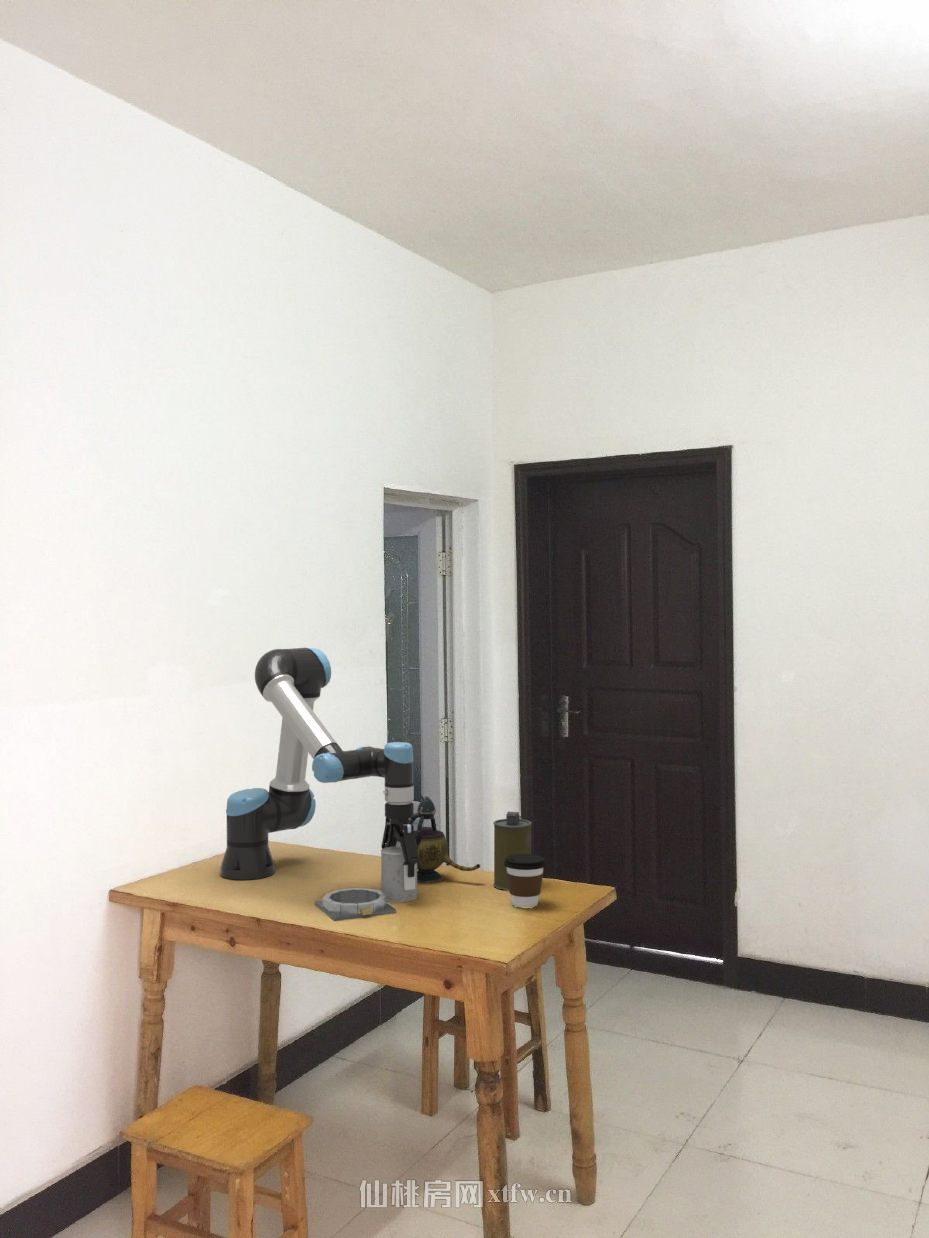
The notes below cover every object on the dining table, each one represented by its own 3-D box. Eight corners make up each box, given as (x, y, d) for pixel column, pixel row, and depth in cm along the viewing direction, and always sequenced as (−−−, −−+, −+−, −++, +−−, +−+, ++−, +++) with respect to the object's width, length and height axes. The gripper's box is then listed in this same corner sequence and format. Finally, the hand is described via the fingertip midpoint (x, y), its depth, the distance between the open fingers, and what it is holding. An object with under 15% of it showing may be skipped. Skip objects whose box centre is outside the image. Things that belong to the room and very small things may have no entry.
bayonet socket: (313, 902, 270) (313, 891, 270) (372, 895, 276) (372, 884, 276) (335, 921, 253) (335, 909, 253) (397, 913, 260) (397, 901, 260)
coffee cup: (517, 913, 260) (517, 865, 260) (495, 902, 270) (495, 856, 270) (554, 907, 265) (554, 860, 265) (532, 897, 275) (532, 851, 275)
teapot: (407, 870, 303) (407, 790, 302) (487, 879, 293) (487, 796, 292) (388, 880, 292) (387, 797, 291) (470, 890, 282) (470, 803, 281)
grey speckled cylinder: (422, 893, 278) (422, 847, 278) (409, 903, 269) (409, 855, 269) (389, 890, 281) (389, 844, 281) (375, 900, 272) (375, 852, 272)
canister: (528, 892, 280) (528, 817, 280) (490, 889, 282) (490, 815, 282) (534, 881, 291) (534, 809, 290) (497, 879, 293) (497, 807, 292)
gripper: (369, 796, 285) (369, 874, 285) (403, 811, 262) (404, 896, 262) (394, 793, 288) (395, 871, 288) (431, 808, 265) (432, 892, 265)
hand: (399, 883), depth 275 cm, fingers open, 13 cm apart
